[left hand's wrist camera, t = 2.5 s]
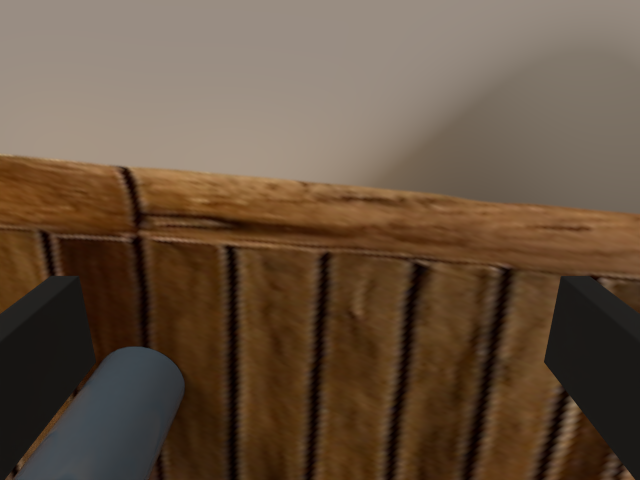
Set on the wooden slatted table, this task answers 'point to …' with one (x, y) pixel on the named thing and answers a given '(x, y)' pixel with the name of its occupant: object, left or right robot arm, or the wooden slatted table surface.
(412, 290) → the wooden slatted table surface
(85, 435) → the jar
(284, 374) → the wooden slatted table surface
